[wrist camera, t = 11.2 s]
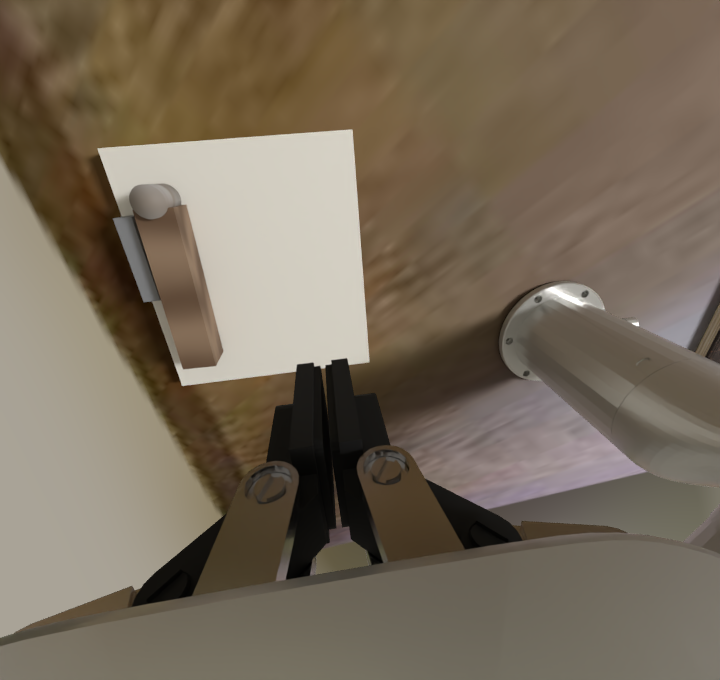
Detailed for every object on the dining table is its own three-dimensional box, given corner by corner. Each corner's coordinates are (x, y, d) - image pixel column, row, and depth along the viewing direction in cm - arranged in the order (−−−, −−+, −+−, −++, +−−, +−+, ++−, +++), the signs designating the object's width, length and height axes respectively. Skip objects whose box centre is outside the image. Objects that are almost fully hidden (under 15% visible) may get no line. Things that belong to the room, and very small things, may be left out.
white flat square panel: (350, 132, 30) (354, 126, 26) (366, 353, 40) (372, 371, 36) (110, 150, 29) (81, 146, 25) (188, 376, 38) (175, 396, 35)
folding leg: (142, 184, 28) (120, 185, 25) (180, 182, 28) (163, 183, 25) (192, 354, 35) (180, 373, 32) (223, 351, 35) (214, 369, 32)
